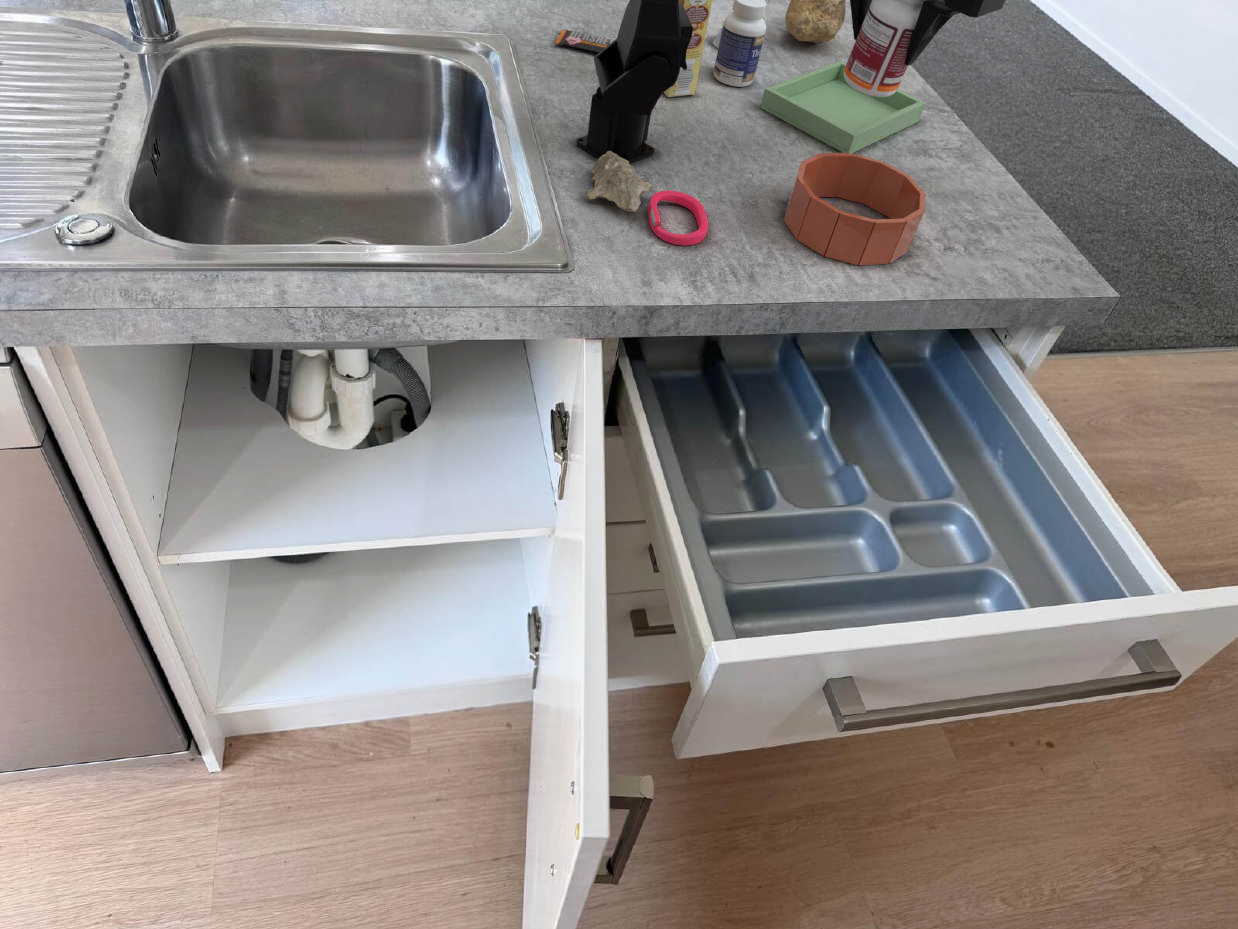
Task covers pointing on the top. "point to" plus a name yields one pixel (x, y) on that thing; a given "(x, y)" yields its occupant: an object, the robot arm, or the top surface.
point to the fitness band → (688, 203)
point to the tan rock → (815, 19)
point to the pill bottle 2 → (882, 47)
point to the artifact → (617, 182)
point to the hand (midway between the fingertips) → (883, 51)
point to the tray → (839, 109)
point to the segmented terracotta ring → (851, 232)
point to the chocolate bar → (583, 41)
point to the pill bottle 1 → (741, 43)
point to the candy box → (692, 47)
